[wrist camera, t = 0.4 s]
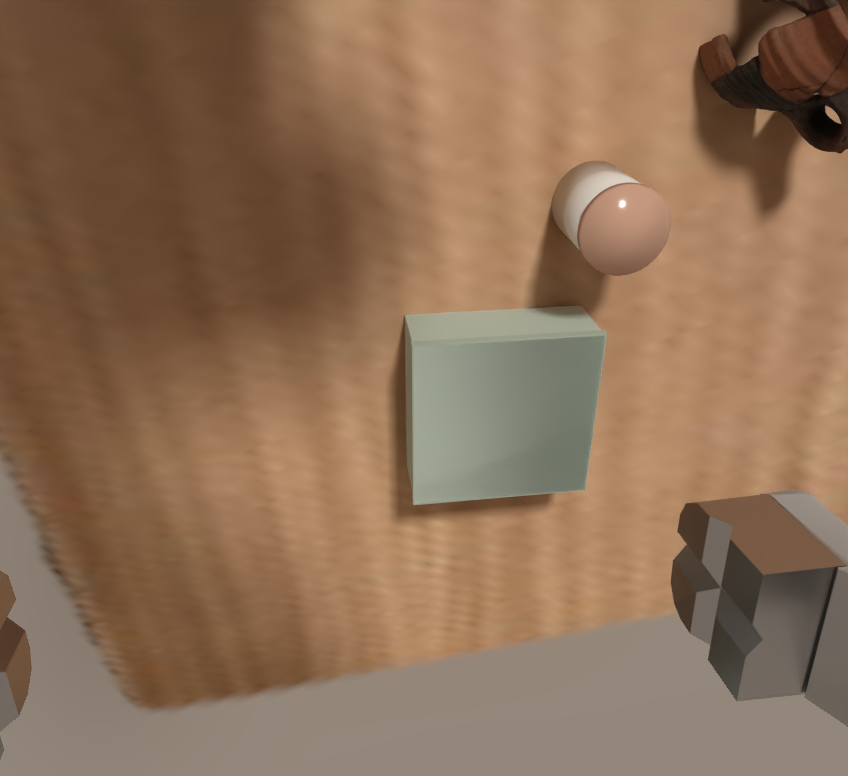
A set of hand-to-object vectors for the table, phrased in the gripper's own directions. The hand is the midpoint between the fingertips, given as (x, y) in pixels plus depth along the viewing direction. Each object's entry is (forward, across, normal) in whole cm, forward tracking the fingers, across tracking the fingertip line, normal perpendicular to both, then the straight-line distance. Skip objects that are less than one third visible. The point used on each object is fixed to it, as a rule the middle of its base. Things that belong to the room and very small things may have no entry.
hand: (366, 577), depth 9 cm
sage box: (+40, -11, +15) cm, 44 cm away
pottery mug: (+37, -28, -7) cm, 47 cm away
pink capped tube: (+38, -17, +2) cm, 42 cm away
